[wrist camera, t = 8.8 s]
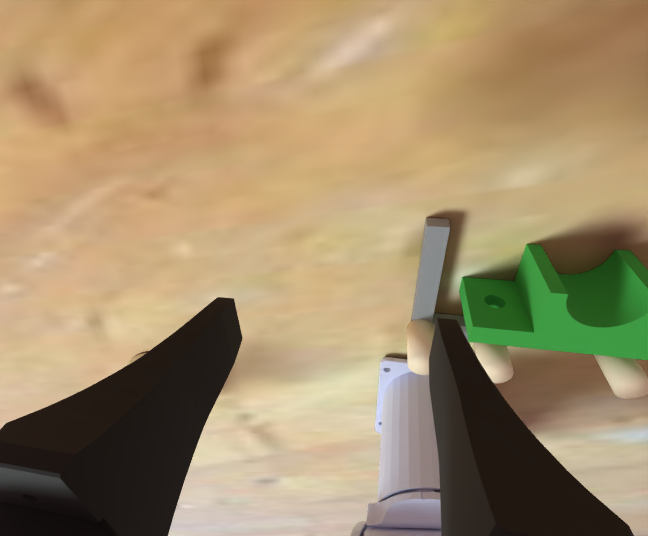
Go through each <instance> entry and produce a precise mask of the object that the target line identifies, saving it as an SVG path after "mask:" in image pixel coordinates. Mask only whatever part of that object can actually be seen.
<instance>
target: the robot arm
mask: <svg viewBox="0 0 648 536" xmlns="http://www.w3.org/2000/svg"><path fill="white" fill-rule="evenodd" d="M241 341H242V334H241V330H240V325H239V320H238V316H237V311H236V307H235V302H234V299H232V298H222V297H218V298H216V299H215V300H214V301H213V302H211V303H210V304H209V305H208V306H206V307H205V308H204V309H203V310H202V311H200V312H199V313H198V314H197V315H196V316H194V317H193V318H192V319H191V320H190V321H188V322H187V323H186V324H185V325H183V326H182V327H181V328H180V329H178V330H177V331H176V332H175V333H173V334H172V335H171V336H169V337H168V338H167V339H165V340H164V341H162V342H161V343H160V344H158V345H157V346H156V347H154V348H153V349H152V350H150V351H149V352H147V353H146V354H144V355H143V356H141V357H140V358H138V359H137V360H135V361H134V362H132V363H131V364H129V365H127V366H126V367H124V368H122V369H121V370H119V371H117V372H116V373H114V374H112V375H110V376H108V377H107V378H105V379H103V380H101V381H99V382H97V383H96V384H94V385H92V386H90V387H88V388H86V389H84V390H82V391H80V392H78V393H76V394H74V395H72V396H70V397H68V398H66V399H63V400H61V401H59V402H57V403H55V404H52V405H50V406H48V407H45V408H43V409H41V410H38V411H36V412H33V413H31V414H28V415H26V416H23V417H21V418H18V419H16V420H13V421H10V422H8V423H6V424H5V425H4V426H3V427H2V428H1V429H0V536H168V533H169V529H170V526H171V522H172V519H173V515H174V512H175V509H176V506H177V502H178V499H179V496H180V493H181V490H182V487H183V483H184V480H185V477H186V474H187V472H188V469H189V466H190V463H191V460H192V457H193V454H194V451H195V449H196V446H197V443H198V441H199V438H200V435H201V433H202V430H203V427H204V425H205V423H206V421H207V418H208V416H209V414H210V412H211V410H212V408H213V406H214V404H215V402H216V400H217V398H218V396H219V394H220V392H221V390H222V388H223V386H224V384H225V382H226V379H227V377H228V375H229V373H230V371H231V369H232V367H233V365H234V362H235V359H236V357H237V354H238V351H239V348H240V345H241ZM375 431H376V432H378V433H381V445H380V464H379V482H378V501H377V503H369V504H368V510H367V522H365V521H362V522H359V523H357V524H356V526H355V527H354V528H353V530H352V532H351V534H350V535H349V536H634V535H633V533H632V531H631V529H630V527H629V526H628V525H627V524H626V523H625V522H624V521H623V520H622V519H620V518H619V517H618V516H617V515H616V514H615V513H613V512H612V511H611V510H610V509H609V508H608V507H607V506H605V505H604V504H603V503H602V502H601V501H600V500H598V499H597V498H596V497H595V496H594V495H593V494H592V493H590V492H589V491H588V490H587V489H586V488H585V487H584V486H583V485H582V484H581V483H580V482H579V481H578V480H577V479H575V478H574V477H573V476H572V475H571V474H570V473H569V472H568V471H567V470H566V469H565V468H564V467H563V466H562V465H561V464H560V463H559V461H558V460H557V459H556V458H555V457H554V456H553V455H552V454H551V453H550V452H549V451H548V450H547V449H546V448H545V447H544V446H543V445H542V444H541V443H540V442H539V440H538V439H537V438H536V437H535V436H534V435H533V434H532V432H531V431H530V430H529V429H528V428H527V427H526V425H525V424H524V423H523V422H522V421H521V419H520V418H519V417H518V416H517V414H516V413H515V412H514V411H513V409H512V408H511V407H510V406H509V404H508V403H507V402H506V400H505V399H504V397H503V396H502V395H501V393H500V392H499V390H498V389H497V388H496V386H495V385H494V383H493V382H492V380H491V379H490V377H489V376H488V374H487V373H486V371H485V369H484V368H483V366H482V365H481V363H480V361H479V360H478V358H477V356H476V355H475V353H474V351H473V349H472V348H471V346H470V344H469V342H468V340H467V338H466V337H465V335H464V333H463V331H462V329H461V326H460V324H459V322H458V321H457V320H456V319H445V318H437V320H436V325H435V330H434V336H433V341H432V346H431V351H430V356H429V374H428V375H420V374H416V373H414V372H412V371H411V370H410V369H409V368H408V363H407V359H399V358H391V357H385V358H383V359H382V360H381V365H380V377H379V388H378V400H377V411H376V422H375Z"/></svg>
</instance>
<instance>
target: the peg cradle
mask: <svg viewBox="0 0 648 536" xmlns="http://www.w3.org/2000/svg"><path fill="white" fill-rule="evenodd" d="M449 231H450V225H449V220H448V219H444V218H426V222H425V229H424V236H423V243H422V250H421V257H420V264H419V270H418V277H417V284H416V291H415V298H414V305H413V312H412V319H411V322H410V323H409V324H408V327H407V363H408V368H409V369H410V370H411V371H412V372H414V373H416V374H420V375H428V374H429V356H430V351H431V346H432V341H433V336H434V330H435V325H436V320H437V318H445V319H456V320H457V321H458V322H459V324H460V326H461V329H462V331H463V333H464V335H465V337H466V338H467V340H468V336H467V330H466V325H465V319H464V316H461V315H450V314H439V313H434V310H435V305H436V299H437V294H438V289H439V284H440V278H441V273H442V268H443V262H444V257H445V252H446V247H447V241H448V236H449ZM473 343H474V348H475V353H476V356H477V358H478V360H479V361H480V363H481V365H482V366H483V368H484V369H485V371H486V373H487V374H488V376H489V377H490V379H491V380H492V382H493V383H503V382H506V381H508V380H510V379H511V378H512V377H513V375H514V370H513V367H512V364H511V360H510V357H509V353H508V350H507V347H506V346H505V345H496V344H486V343H476V342H473ZM594 357H595V358H596V360H597V362H598V364H599V366H600V368H601V370H602V372H603V373H604V375H605V377H606V379H607V381H608V383H609V385H610V387H611V388H612V390H613V392H614V394H615V395H616V396H618V397H620V398H623V399H636V398H640V397H643V396H645V395H647V394H648V376H647V375H646V373H645V372H644V370H643V369H642V367H641V365H640V364H639V362H638V361H637V359H631V358H621V357H612V356H602V355H594Z"/></svg>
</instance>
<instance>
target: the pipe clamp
mask: <svg viewBox="0 0 648 536" xmlns="http://www.w3.org/2000/svg"><path fill="white" fill-rule="evenodd" d="M459 293H460V298H461V303H462V309H463V314H464V319H465V325H466V330H467V336H468V341H469V342H476V343H486V344H496V345H505V346H515V347H525V348H534V349H544V350H554V351H563V352H573V353H583V354H592V355H602V356H612V357H621V358H631V359H641V360H648V270H647V269H646V267H645V266H644V265H643V264H642V263H641V262H640V261H639V260H638V259H637V257H636V256H635V255H634V254H633V253H632V252H631V251H630V250H614V252H613V254H612V255H611V256H610V257H609V258H608V259H607V260H606V261H605V262H604V263H603V264H601V265H600V266H598V267H596V268H594V269H592V270H590V271H587V272H584V273H580V274H572V275H566V274H559V273H556V271H555V269H554V267H553V266H552V264H551V262H550V260H549V258H548V257H547V255H546V253H545V251H544V249H543V248H542V246H541V245H535V244H527V245H526V248H525V251H524V254H523V256H522V259H521V262H520V265H519V268H518V271H517V274H516V277H515V280H514V281H508V280H495V279H482V278H469V277H462V281H461V286H460V290H459Z"/></svg>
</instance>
